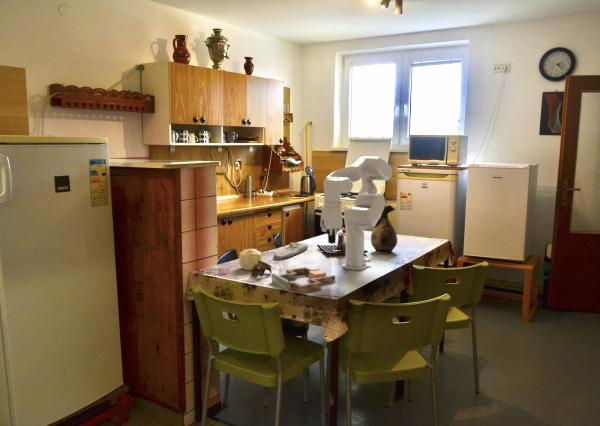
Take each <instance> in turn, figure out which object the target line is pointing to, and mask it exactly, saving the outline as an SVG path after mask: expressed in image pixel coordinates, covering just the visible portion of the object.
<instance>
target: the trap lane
mask: <svg viewBox="0 0 600 426" xmlns="http://www.w3.org/2000/svg"><path fill="white" fill-rule="evenodd" d="M316 270H321V269H320V268H315V269H311V268H309V267H307V266H304V267H297V268H291V269H286V272H285V273H284V274H282V273H281V274H276V273H271V283H272V284H274V285H276V286H278V287H280V288H281V287H282V289H283V288H284V289H283V290H285V289H286V290H285V291H287V290H288V291H295V292H297V293H299V294H303V293H302V292H304V293H307V292H314V291H313V290H315V291H320V290H322V285H327V283H328V284H332V283H333V282H334V283H336V275H326V277H320V278H314V279H310V280H309V283H305V284H300V283H298V282H295V281H296V280H298V279H301V278H306V277H308V278H309V271H316ZM288 280H289V281H288ZM294 280H295V281H294ZM334 283H333V284H334ZM292 289H293V290H292Z"/></svg>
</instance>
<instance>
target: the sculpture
mask: <svg viewBox="0 0 600 426" xmlns="http://www.w3.org/2000/svg"><path fill="white" fill-rule="evenodd" d="M258 261H263V260H262V252H261V251H259V250H257V249H256V248H247V249H246V248H244V249H243V250H242V251H240V252H239V258H238V264H239V266H240V268H242V270H245V271H252V270H253V267H254V265H255V264H256V263H258ZM258 268H259V267H258Z"/></svg>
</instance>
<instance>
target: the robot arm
mask: <svg viewBox="0 0 600 426" xmlns="http://www.w3.org/2000/svg"><path fill="white" fill-rule="evenodd" d="M392 176H393V168H392V166H391V165H390V163H388V162H387V161H386V160H385V159H383V158H382V157H379V156H360V157H359V158H358V159H356V160H355V161H354V162H352V163H351V164H350V165H349V166H346V167H343V168H340V169H337V170H335V171H332V172H330V173H329V175H328V176H326V177H325V179H324V180H323V184H322V186H323V191H324V192H323V207H322V208H321V215H320V228H321V231H322V232H324V233H326V235H327V241H328V242H327V243H329V244H336V238H337V237H336V235H338V232H339V231H341V230H343V225H344V226H345V261H344V262H345V263H343V264H342V268H343V269H345V270H350V271H363V270H366V268H368V267H367V266H368V265H367V263H371V262H372V259H371V258H365V232H364V230H363V228H362V227H366V228H373V227H375V225H376V223H377V222H378V220H379V219H380V218H381V216H382V212H383V210H384V207H385V206H386V199H385V197H384V195H383V194H380V193H378V188H377V186H376V184H375V183H374V181H385V182H386V181H389V180H390V179H392ZM359 180H361V183H362V184H361V188H360V190H359V192H358V193H357V195H356V197H355V200H354V203H353V205H354V206H350V207H347V208H346V209H345V210H344V213H343V212H342V211H343V209H342V207H341V205H342V204H343V203H342V201H341V194H348V193H350V192H351V191H352V189H353V188H354V187H353V186H354V184H353V183H354V182H358V181H359ZM343 220H344V221H343ZM343 222H344V224H343Z"/></svg>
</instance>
